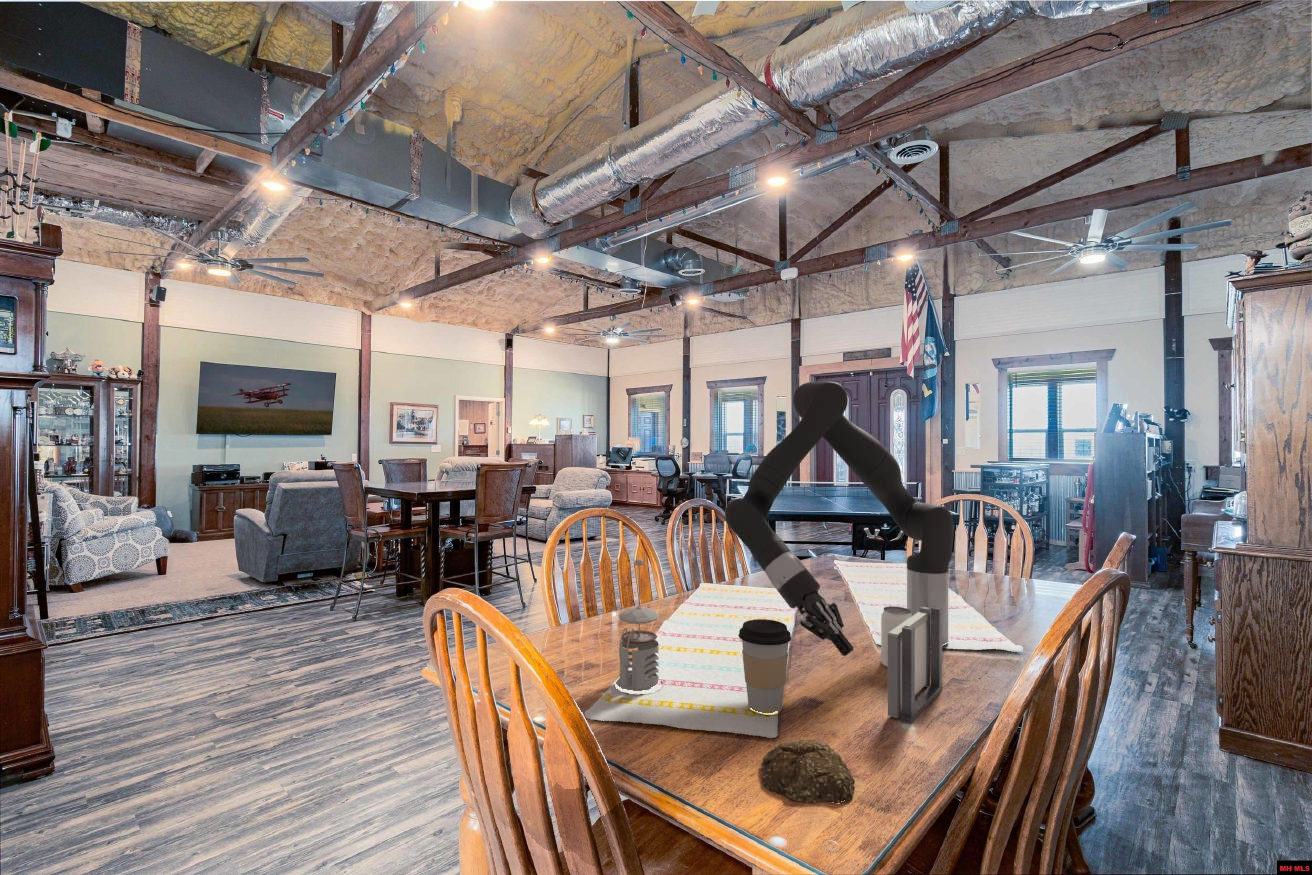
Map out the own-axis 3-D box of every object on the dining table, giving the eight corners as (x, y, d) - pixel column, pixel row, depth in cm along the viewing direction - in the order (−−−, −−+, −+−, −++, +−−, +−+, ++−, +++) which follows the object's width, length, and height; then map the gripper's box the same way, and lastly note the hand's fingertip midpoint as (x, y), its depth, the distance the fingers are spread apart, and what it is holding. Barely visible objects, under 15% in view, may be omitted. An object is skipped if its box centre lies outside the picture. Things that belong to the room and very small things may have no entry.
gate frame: (933, 686, 119) (934, 605, 119) (942, 688, 118) (942, 607, 118) (901, 720, 104) (901, 628, 104) (910, 723, 103) (910, 630, 103)
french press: (671, 680, 122) (671, 556, 122) (646, 702, 111) (646, 567, 111) (628, 671, 126) (628, 552, 126) (600, 693, 115) (600, 562, 115)
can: (916, 672, 126) (916, 614, 126) (883, 669, 127) (884, 613, 127) (909, 661, 132) (910, 606, 133) (878, 658, 134) (879, 604, 134)
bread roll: (834, 757, 93) (834, 724, 93) (865, 805, 81) (865, 768, 81) (752, 758, 92) (752, 725, 92) (770, 807, 80) (770, 770, 80)
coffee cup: (793, 701, 112) (794, 620, 112) (787, 723, 103) (788, 636, 103) (743, 694, 115) (743, 615, 115) (733, 715, 106) (733, 630, 106)
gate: (920, 681, 120) (920, 606, 120) (931, 683, 119) (931, 607, 119) (886, 714, 105) (886, 629, 105) (898, 718, 104) (898, 631, 104)
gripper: (788, 573, 117) (849, 651, 109) (817, 563, 127) (875, 633, 119) (763, 596, 120) (821, 673, 112) (794, 584, 130) (849, 654, 122)
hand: (849, 652), depth 116 cm, fingers closed
